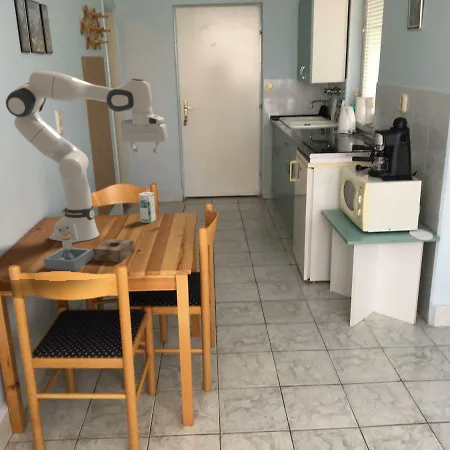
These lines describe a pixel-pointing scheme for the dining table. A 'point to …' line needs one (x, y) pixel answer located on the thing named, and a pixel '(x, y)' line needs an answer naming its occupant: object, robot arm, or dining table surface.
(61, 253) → the grey tray
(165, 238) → the dining table surface
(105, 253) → the walnut block
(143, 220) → the syrup box
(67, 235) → the metal pin
